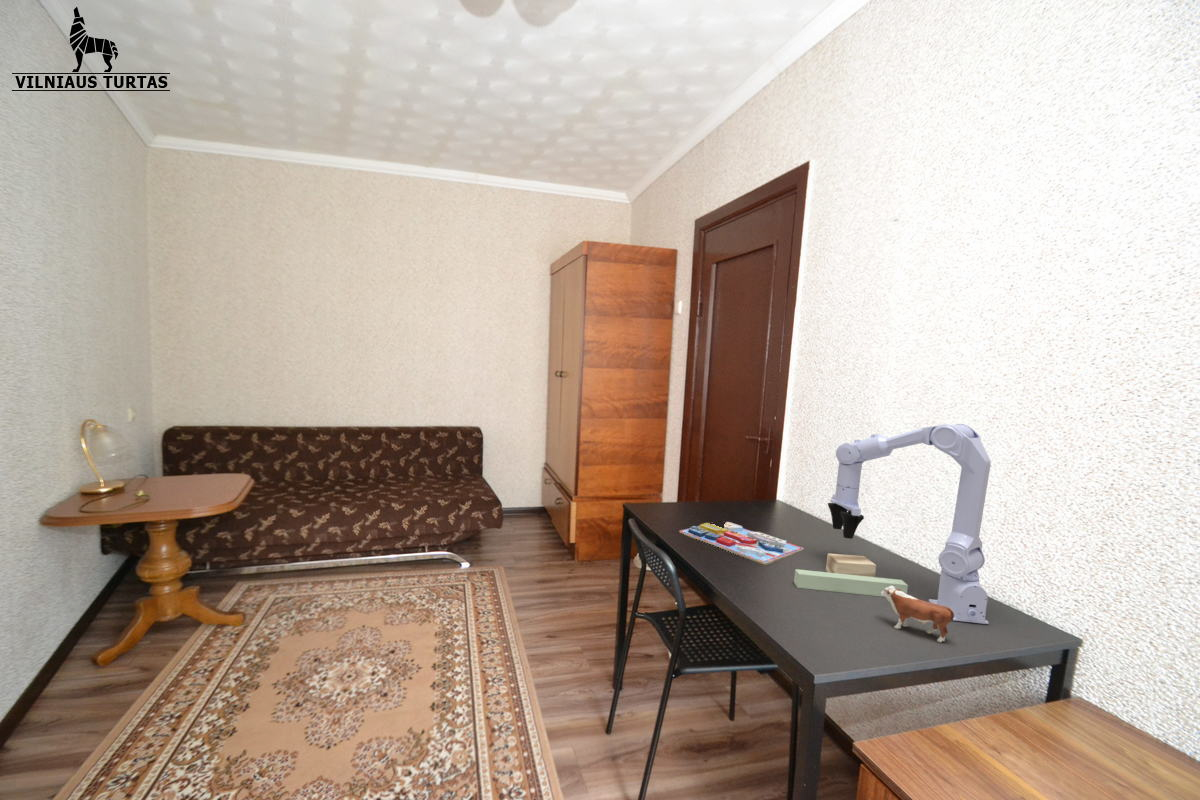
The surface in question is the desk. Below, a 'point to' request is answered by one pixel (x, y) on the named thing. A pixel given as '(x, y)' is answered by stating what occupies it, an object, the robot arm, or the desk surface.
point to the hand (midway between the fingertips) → (842, 533)
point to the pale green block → (845, 582)
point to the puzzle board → (743, 542)
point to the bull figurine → (918, 611)
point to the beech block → (850, 565)
